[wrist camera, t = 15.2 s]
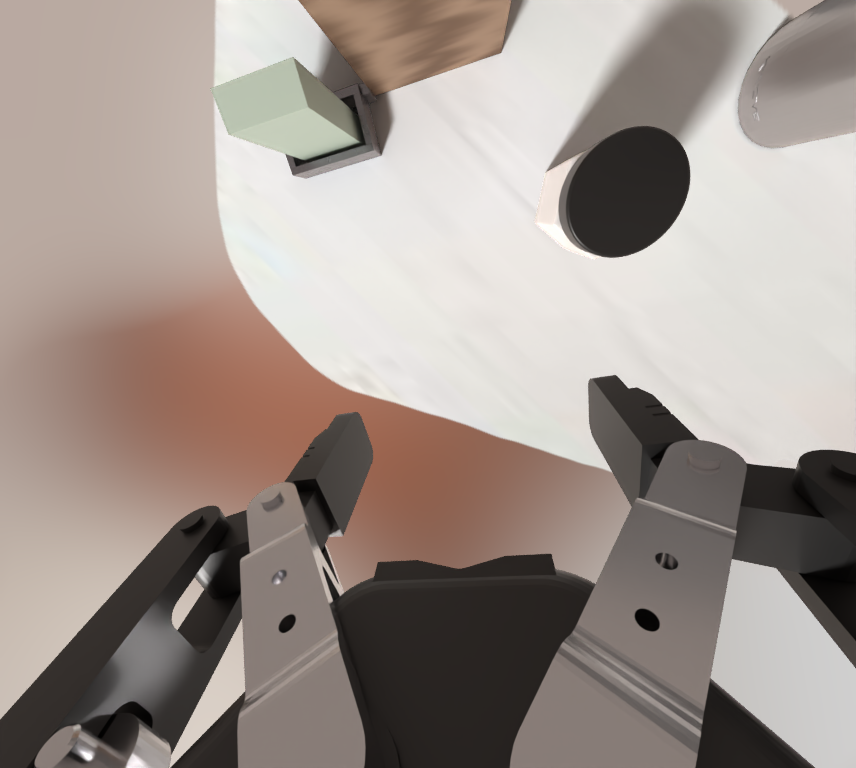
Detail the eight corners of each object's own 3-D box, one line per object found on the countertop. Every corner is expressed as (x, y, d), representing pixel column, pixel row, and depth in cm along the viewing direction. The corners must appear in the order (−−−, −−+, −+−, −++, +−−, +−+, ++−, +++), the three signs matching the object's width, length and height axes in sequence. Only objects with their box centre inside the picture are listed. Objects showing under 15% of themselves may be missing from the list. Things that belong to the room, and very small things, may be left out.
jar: (603, 253, 36) (660, 270, 25) (527, 245, 36) (551, 257, 26) (635, 154, 32) (719, 123, 21) (549, 145, 32) (588, 111, 21)
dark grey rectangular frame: (374, 90, 32) (365, 79, 29) (388, 153, 34) (381, 147, 31) (287, 120, 34) (271, 112, 31) (306, 178, 36) (292, 175, 33)
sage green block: (356, 104, 32) (286, 35, 20) (367, 147, 34) (308, 107, 21) (301, 123, 34) (202, 68, 21) (314, 163, 35) (228, 134, 23)
